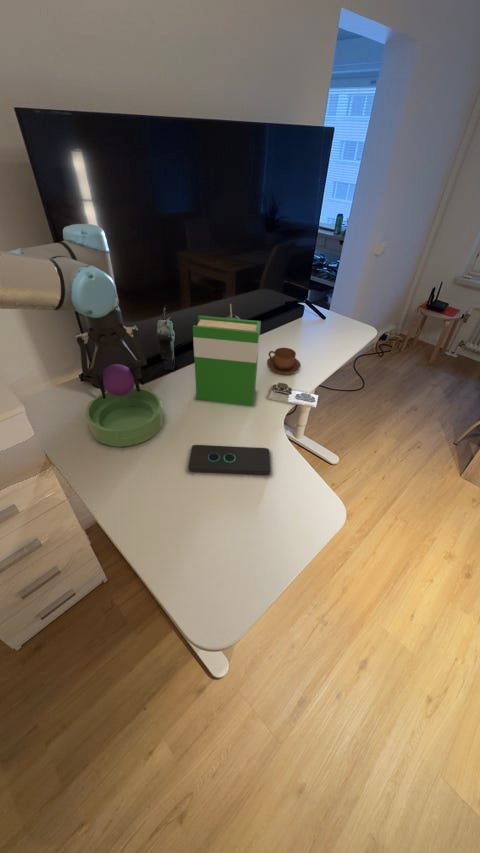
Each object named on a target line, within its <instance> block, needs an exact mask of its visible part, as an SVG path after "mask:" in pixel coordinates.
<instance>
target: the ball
mask: <svg viewBox="0 0 480 853" xmlns="http://www.w3.org/2000/svg"><path fill="white" fill-rule="evenodd" d="M101 380H102V384H103V388H104V391H105V392H106V391H107V392H108V393H110V394H112V395H115V396H123V395H126V394H128V393H129V392H130V391H131V390H132V389H133V387H135V378H134V375H133V371H132V369H130V368H129V367H127V366H126V365H124V364H120V363H115V364H111V365H109V366H107V367H106V368H105V369H104V370H103V372H102V374H101Z"/></svg>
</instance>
